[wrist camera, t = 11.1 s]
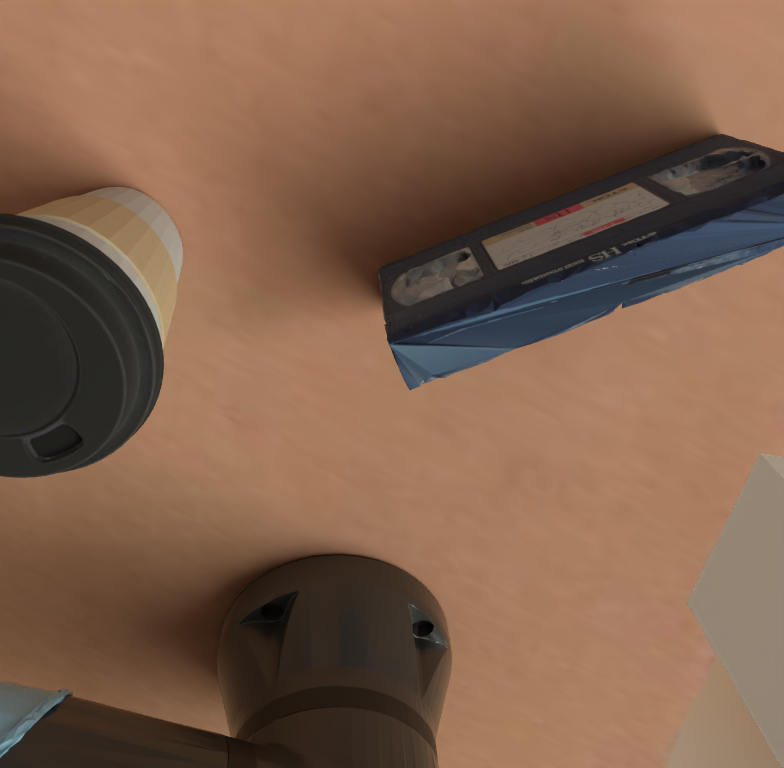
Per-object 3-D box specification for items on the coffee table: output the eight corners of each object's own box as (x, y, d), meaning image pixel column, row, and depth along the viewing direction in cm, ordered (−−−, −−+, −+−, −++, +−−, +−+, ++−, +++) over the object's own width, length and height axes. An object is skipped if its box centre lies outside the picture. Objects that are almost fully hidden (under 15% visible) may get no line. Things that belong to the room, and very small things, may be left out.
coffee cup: (157, 363, 40) (65, 540, 27) (-10, 261, 37) (-207, 404, 24) (255, 224, 37) (206, 346, 24) (80, 102, 34) (-88, 163, 21)
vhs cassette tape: (723, 128, 37) (846, 167, 28) (732, 186, 38) (851, 241, 29) (372, 258, 39) (380, 333, 30) (391, 309, 40) (405, 395, 31)
